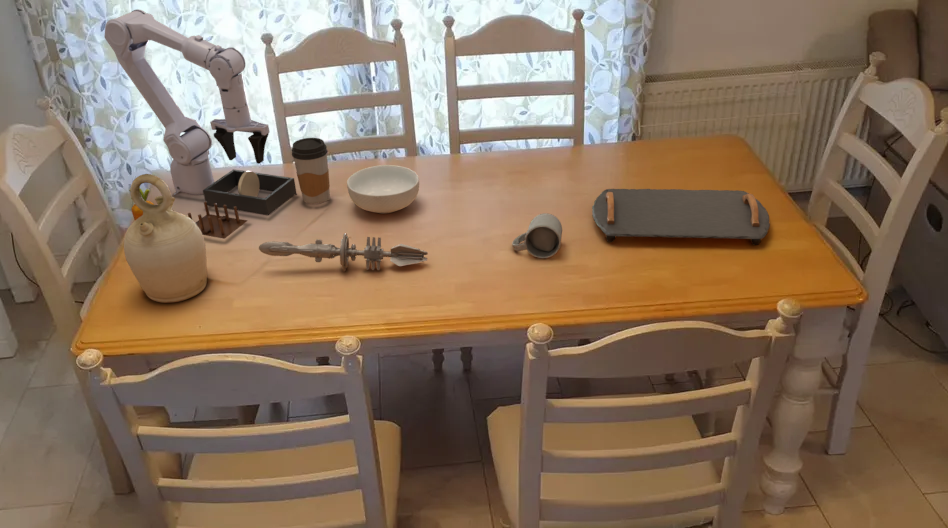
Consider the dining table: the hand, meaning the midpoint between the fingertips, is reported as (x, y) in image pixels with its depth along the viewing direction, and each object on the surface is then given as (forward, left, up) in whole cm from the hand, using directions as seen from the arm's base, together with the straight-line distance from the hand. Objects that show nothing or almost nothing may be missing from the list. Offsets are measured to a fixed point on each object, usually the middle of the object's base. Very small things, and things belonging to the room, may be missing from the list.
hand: (246, 160), depth 202 cm
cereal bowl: (+33, +6, -11) cm, 35 cm away
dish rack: (+1, -17, -10) cm, 19 cm away
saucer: (+1, -2, -10) cm, 10 cm away
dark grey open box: (+1, -2, -10) cm, 10 cm away
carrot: (-7, -29, -11) cm, 31 cm away
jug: (+8, -41, -11) cm, 43 cm away
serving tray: (+100, +19, -11) cm, 102 cm away
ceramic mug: (+74, -3, -11) cm, 75 cm away
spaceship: (+38, -23, -11) cm, 45 cm away
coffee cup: (+16, +3, -11) cm, 19 cm away
